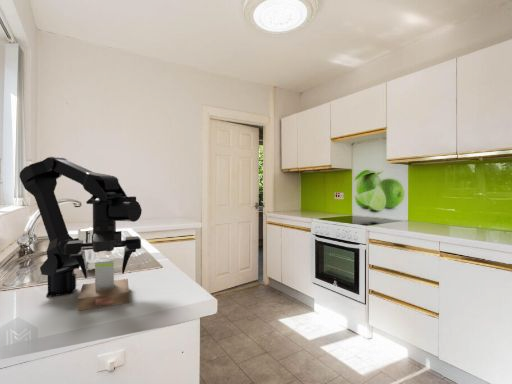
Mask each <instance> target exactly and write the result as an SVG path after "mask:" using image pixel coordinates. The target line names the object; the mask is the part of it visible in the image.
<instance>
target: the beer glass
mask: <svg viewBox="0 0 512 384" xmlns="http://www.w3.org/2000/svg"><path fill="white" fill-rule="evenodd" d="M92 235H93V227H87V228H80V229H77V238H78V239H79V240H83V243H92ZM83 251H85V257H86V265H87V271H92V270H95V261H96V259H97V254H98V252H94V251H93V249H89V250H83ZM78 269H79V271H82V269H81V267H79V268H78Z"/></svg>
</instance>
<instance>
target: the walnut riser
mask: <svg viewBox="0 0 512 384" xmlns="http://www.w3.org/2000/svg"><path fill="white" fill-rule="evenodd" d="M129 289H130V288H129V279H128V278H125V279H124V278H122V279H114V289H112V290H105V291H97V292H95V282H92V283H83V284H82V285H81V287H80V291H79V294H78V297H77V311H82V310H83V311H84V310H90V309H96V308H103V307H104V308H105V307H108V306H116V305H121V304H122V305H123V304H127V303H128V304H129V303H130V290H129Z"/></svg>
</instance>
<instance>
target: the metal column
mask: <svg viewBox="0 0 512 384" xmlns="http://www.w3.org/2000/svg"><path fill="white" fill-rule="evenodd" d="M94 279H95V280H94V281H95V282H94V283H95V292H97V291H105V290H112V289H114V280H115V256H112V257H101V258H99V257H98V258H96V261H95V269H94Z"/></svg>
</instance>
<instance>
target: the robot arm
mask: <svg viewBox="0 0 512 384" xmlns="http://www.w3.org/2000/svg"><path fill="white" fill-rule="evenodd" d="M62 176H64V177H65V178H68V179H69V180H72V181H73V182H76V183H78V184H80V185H82V187H83V190H85V191H86V192H88V193H89V194H90V195H91V197H90V198H89V199H87V200H86V202H85V203H86V204H87V205H92V228H93V235H92V243H83V240H79V239H78V237H77V238H73V237H72V236H70V233H69V232H68V231H69V230H68V228H67V226H66V222H65V220H64V216H63V214H62V211H61V208H60V204H59V202H58V200H57V197H56V194H55V191H56V187H57V185H58V182H57V180H58V179H60V178H61V177H62ZM19 180H20V182H21V183H22V185H23V188H24V189H25V190H26V191H27V192H28V193H29V194H30V195H32V196H33V197H34V200H35V202H36V205H37V208H38V211H39V214H40V217H41V219H42V223H43V225H44V229H45V231H46V234H47V237H48V240H49V243H48V246H47V249H46V257H47V259H46V260H45V261H44V262H43V263H42V265H41V266H40V267H39V269H40V273H41V275H42V276H47V293H46V297H55V296H64V295H70V294H73V293H74V291H75V290H76V289H77V287H78V286H77V285H78V284H77V273H75V270H77V269H79V267H81V269H82V270H81V271H82V274H83V277H84V278H85V279H87V278H88V270H87V265H86V257H85V251H83V250H89V249H93V251H94V252H97V253H100V252H113V251H114V250H115V248H124V250H123V256H122V257H123V258H122V264H121V275H122V274H123V275H124V274H125V270H126V267H127V265H128V262H129V260H130V257H131V255H132V254H133V253H136V252H137V250H139V249H142V240H141V238H140V237H139V236H138V235H137V236H126V237H125V240H123V239H122V234H123V233H122V231H120V230H118V231H117V229H116V228H117V222H132V223H134V222H137V221H138V220H140V218H141V215H142V211H143V210H142V206H141V204H140V203H139V201H137V196H128V195H127V194H126V192H125V191H124V189H123V188H122V186H121V183H120V182H119V178H118V177H117V176H114V175H111V174H105V173H99V172H95V171H92V170H89V169H88V168H85V167H82V166H81V165H78V164H76V163H74V162H72V161H70V160H68V159H67V158H65V157H59V156H49V157H46V158H44V159H42V160H40V161H37V162H34V163H31V164H28V165H27V166H24V168H22V170H20V172H19Z"/></svg>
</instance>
